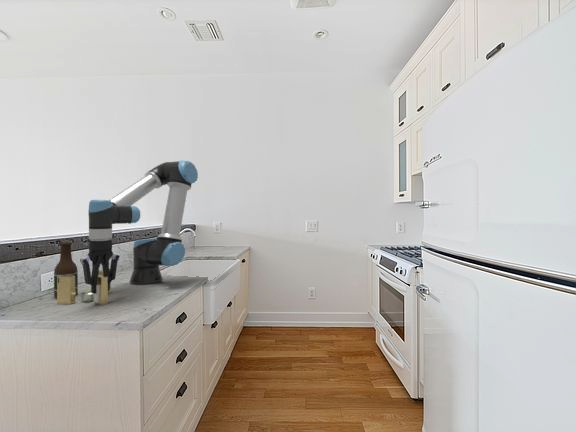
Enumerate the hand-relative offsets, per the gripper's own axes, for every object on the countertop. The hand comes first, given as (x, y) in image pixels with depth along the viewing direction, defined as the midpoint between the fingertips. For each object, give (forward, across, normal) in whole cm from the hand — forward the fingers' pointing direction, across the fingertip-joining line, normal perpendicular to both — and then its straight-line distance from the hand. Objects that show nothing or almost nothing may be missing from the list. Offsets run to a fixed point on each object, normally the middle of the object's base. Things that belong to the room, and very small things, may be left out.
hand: (100, 300), depth 109 cm
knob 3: (+1, 0, 0) cm, 1 cm away
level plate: (+2, 0, -8) cm, 8 cm away
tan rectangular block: (+1, +7, -12) cm, 14 cm away
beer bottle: (+3, +3, -22) cm, 23 cm away
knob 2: (+1, -7, -12) cm, 14 cm away
